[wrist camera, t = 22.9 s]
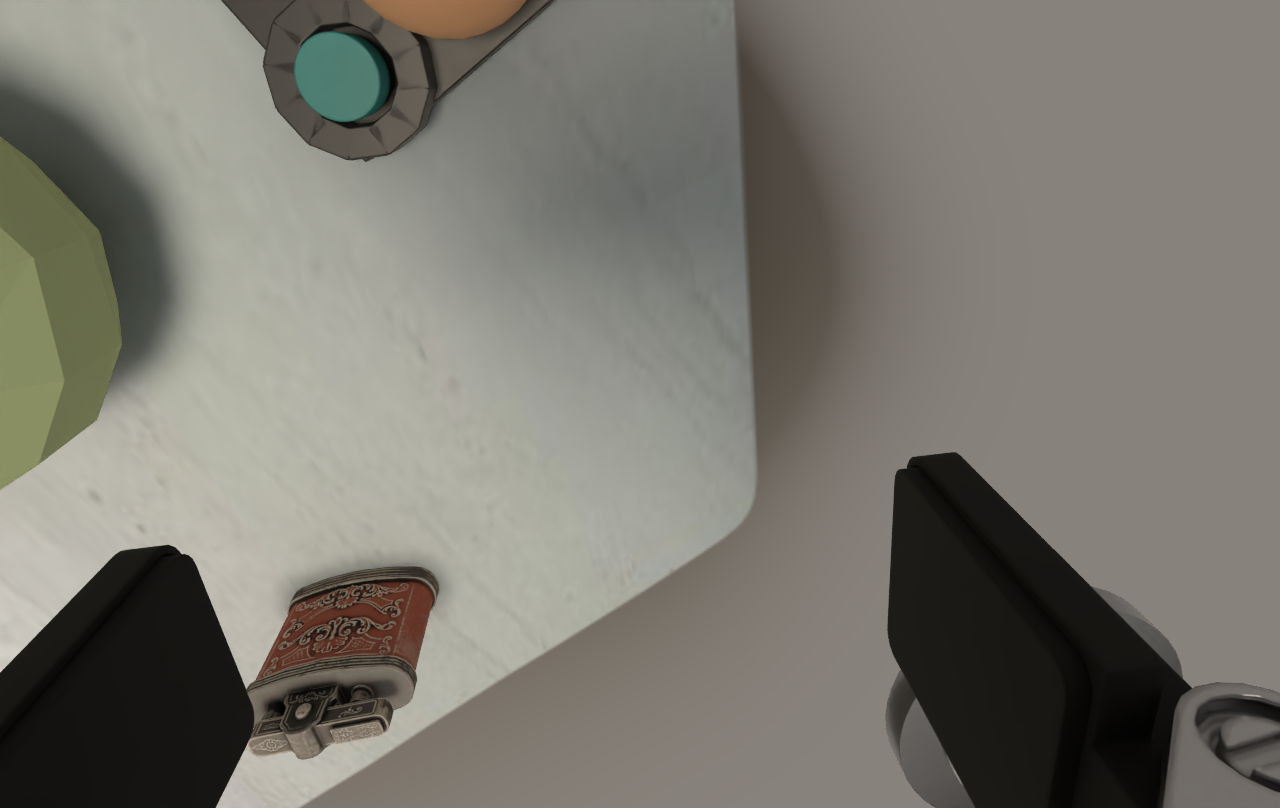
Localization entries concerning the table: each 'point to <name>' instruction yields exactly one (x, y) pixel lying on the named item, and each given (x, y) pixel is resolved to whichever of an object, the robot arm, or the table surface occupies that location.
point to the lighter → (342, 661)
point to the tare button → (341, 76)
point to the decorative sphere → (49, 317)
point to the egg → (446, 15)
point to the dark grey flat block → (418, 65)
